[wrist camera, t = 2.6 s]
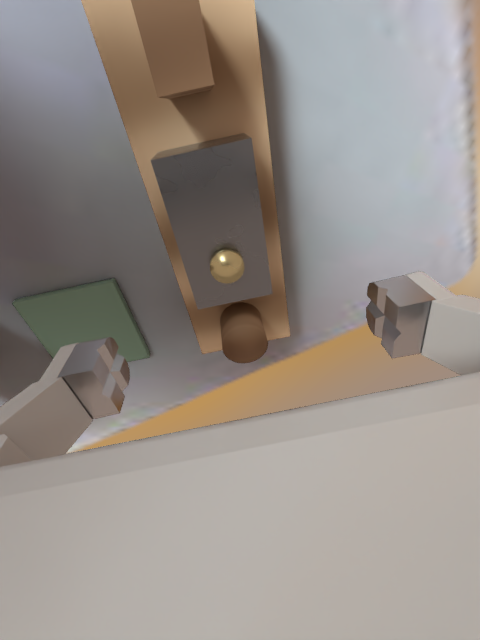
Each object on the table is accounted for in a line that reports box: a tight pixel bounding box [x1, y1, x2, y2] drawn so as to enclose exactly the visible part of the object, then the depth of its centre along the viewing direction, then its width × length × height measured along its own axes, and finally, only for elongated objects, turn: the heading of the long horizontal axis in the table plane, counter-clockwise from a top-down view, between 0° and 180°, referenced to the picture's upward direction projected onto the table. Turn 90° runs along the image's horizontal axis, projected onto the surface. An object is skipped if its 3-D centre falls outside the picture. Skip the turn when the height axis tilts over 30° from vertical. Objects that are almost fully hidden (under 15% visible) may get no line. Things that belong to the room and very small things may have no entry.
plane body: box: [81, 0, 290, 363], centre depth 18 cm, size 21×7×9 cm, turn 10°
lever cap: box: [150, 133, 273, 310], centre depth 17 cm, size 8×4×4 cm, turn 10°
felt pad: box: [12, 278, 150, 362], centre depth 26 cm, size 8×8×1 cm
